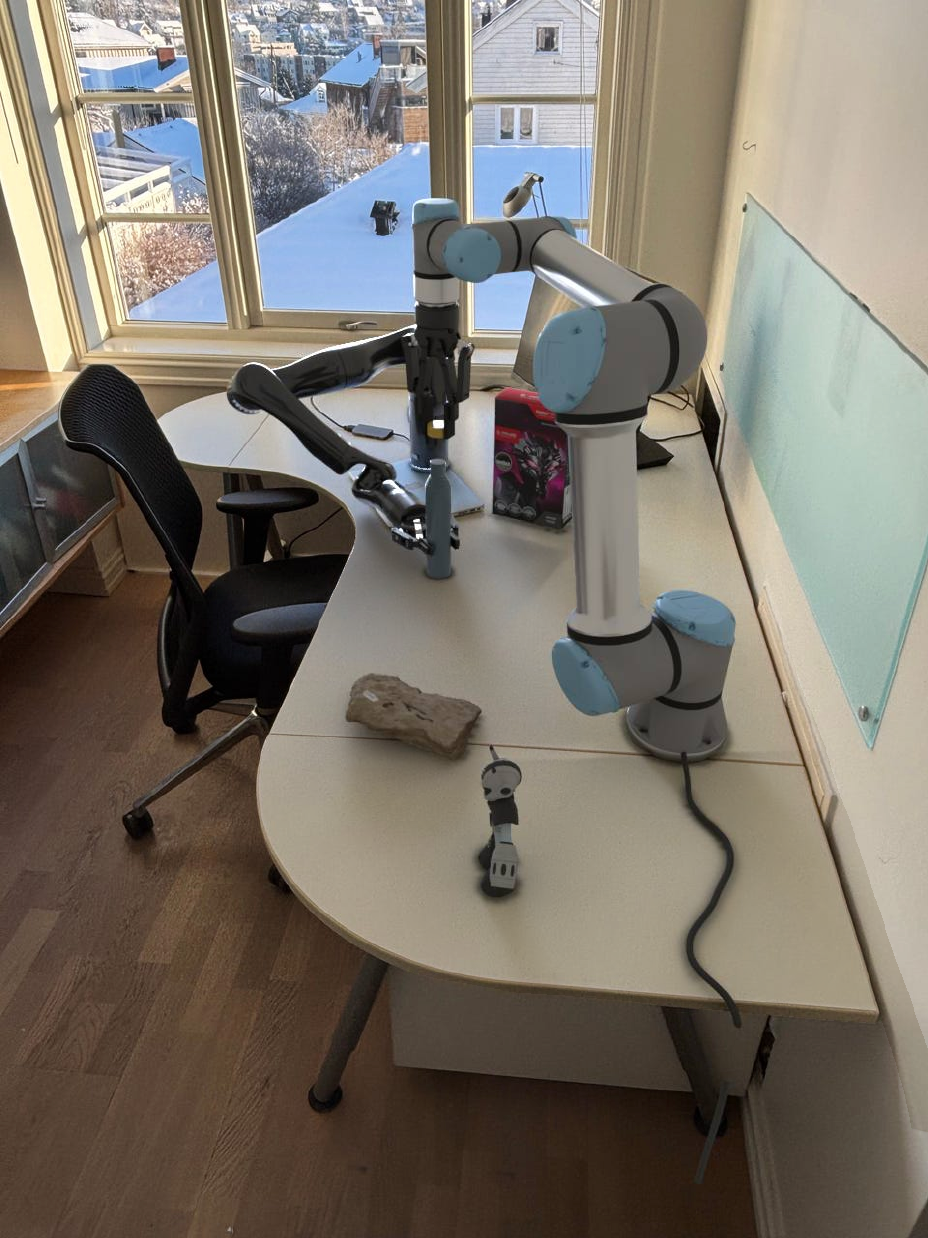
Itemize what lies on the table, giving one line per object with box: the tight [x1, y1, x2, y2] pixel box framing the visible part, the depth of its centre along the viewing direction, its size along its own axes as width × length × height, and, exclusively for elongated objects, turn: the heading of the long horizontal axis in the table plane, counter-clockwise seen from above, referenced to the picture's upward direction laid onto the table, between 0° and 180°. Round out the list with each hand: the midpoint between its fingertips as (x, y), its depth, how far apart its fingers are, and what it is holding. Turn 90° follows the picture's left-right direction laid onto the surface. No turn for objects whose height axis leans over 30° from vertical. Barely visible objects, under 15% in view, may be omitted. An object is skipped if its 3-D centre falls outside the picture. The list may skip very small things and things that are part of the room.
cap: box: [427, 420, 444, 438], centre depth 165 cm, size 4×4×2 cm
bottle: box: [424, 459, 452, 579], centre depth 176 cm, size 5×5×24 cm
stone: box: [344, 672, 483, 761], centre depth 141 cm, size 21×15×6 cm
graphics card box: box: [491, 386, 572, 531], centre depth 194 cm, size 17×7×27 cm, turn 62°
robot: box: [477, 744, 523, 898], centre depth 114 cm, size 20×5×20 cm, turn 3°
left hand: (445, 548), depth 177 cm, fingers closed on bottle, 5 cm apart
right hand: (438, 434), depth 166 cm, fingers closed on cap, 4 cm apart
